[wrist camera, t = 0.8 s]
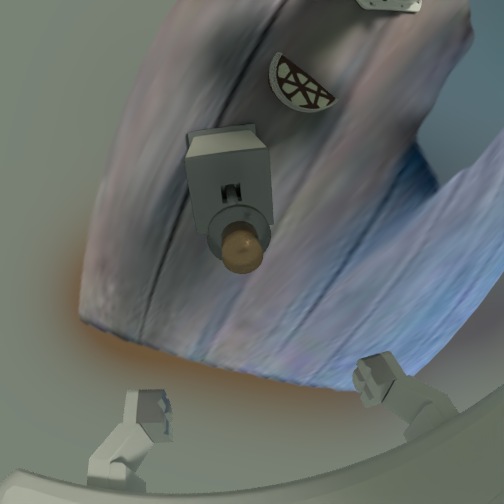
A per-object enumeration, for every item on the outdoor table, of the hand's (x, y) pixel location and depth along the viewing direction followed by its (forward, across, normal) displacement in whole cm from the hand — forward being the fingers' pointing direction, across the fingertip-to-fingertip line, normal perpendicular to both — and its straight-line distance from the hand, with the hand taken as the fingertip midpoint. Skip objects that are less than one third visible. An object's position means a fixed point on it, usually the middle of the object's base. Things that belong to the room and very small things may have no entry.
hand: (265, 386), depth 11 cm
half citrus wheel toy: (+46, -13, -13) cm, 50 cm away
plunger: (+32, -2, 0) cm, 32 cm away
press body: (+47, -2, 0) cm, 47 cm away
